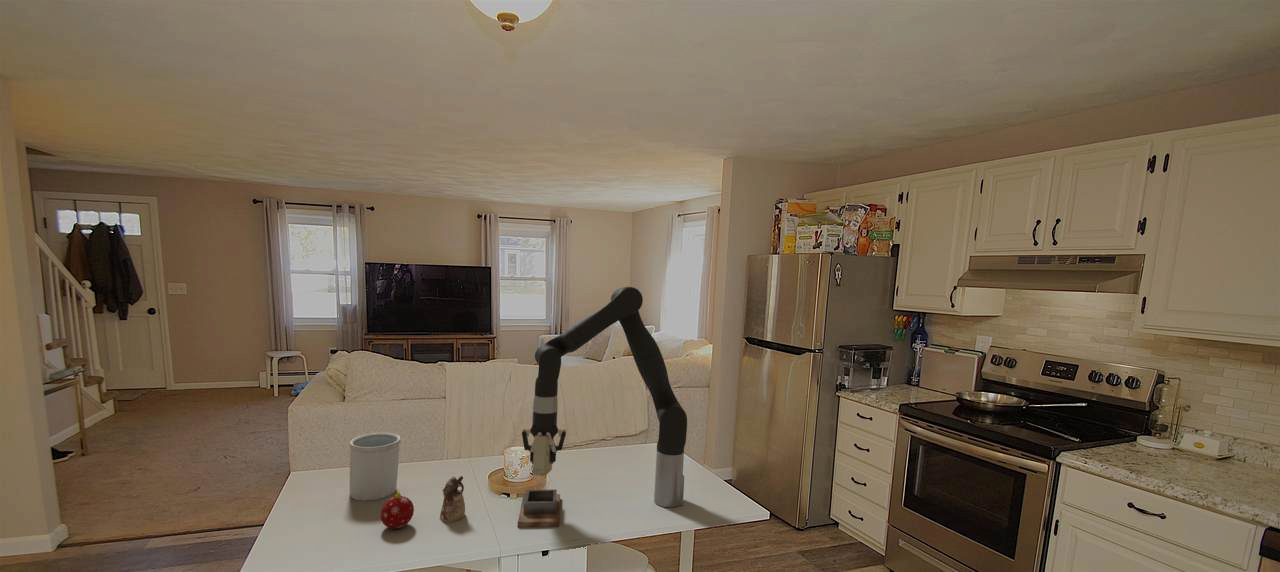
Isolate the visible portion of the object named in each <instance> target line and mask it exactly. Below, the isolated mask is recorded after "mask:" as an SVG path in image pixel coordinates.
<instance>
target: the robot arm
mask: <svg viewBox="0 0 1280 572" xmlns="http://www.w3.org/2000/svg"><path fill="white" fill-rule="evenodd" d="M643 298H644V297H643V294H642V292H641V291H640V290H639V289H638V288H636V287H633V286H625V287H621V288H618V289H616V290H615V291H613V292H612V294H611V297H610V301H609V302H608V303H606V305H604V306H603V307H602V308H600V309H598V310H597V311H595V312H594V313H592V314H590V315H588V316H587V317H585V318H583V319H581V320H579V321H578V322H577V323H575V324H573V325H572V326H570V327H569V328H568V329H566V330H564V332H562V333H561V334H559V335H557V336H555V337H553V338H552V339H549V340H548V341H546V342H544V343H542V344H541V345H540V346H539V347H538V348H537V349H536V351H535V353H534V359H535V362H536V363H537V364H538V370H537V371H538V374H537V377H536V378H535V383H534V386H535V387H534V397H533V406H532V424H531V425H532V426H531V427H530V429H529V428H528V429H525V428H524V429H522V431H521V437H522V443H523V447H524V448H523V449H524V451H529V453H530V454H529V461H530V463H531V464H532V465H533V455H534V440H533V442H532V444H531V445H530V444H529V443H530V442H529V439H528V438H529V437H530V434H531V435H532V436H533V438H534V439H535V435H537V436H541V435H546V436H549V437H550V438H549V444H550V446H551V449H552V454H551V464H552V465H553V464H554V463H556V461H557V460H556V459H557V452H559V451H562V449H563V446H564V443H565V439H566V436H567V431H566V429H560V428H559V429H558V426H557V425H558V408H559V407H558V405H559V402H558V401H559V399H558V390H559V389H558V388H559V387H558V386H559V377H560V374H561V373H560V372H561V367H562V357H564V356H565V355H567V354H569V353H574V352H575V351H577V350H579V349H580V348H582V347H583V346H584V345H586V344H587V343H588V342H590V341H591V340H592V339H594V338H595V337H596V336H598V335H599V334H600V333H602V332H603V331H605V330H606V329H607V328H609V327H610V326H612V325H614V324H615V323H617V322H619V324H620V325H621V327H622V331H623V332H624V335H625V337H626V340H627V343H628V346H629V349H630V351H631V355H632V357H633V360H634V362H635V365H636V367H637V370H638V372H639V374H640V377H641V378H642V380H643V382H644V384H645V386H646V387H647V389H648V391H649V393H650V395H651V398H652V401H653V404H654V405H653V406H654V408H655V412H656V417H657V420H658V422H659V423H658V424H659V425H658V426H659V427H658V430H659V431H658V441H657V443H656V455H655V456H656V458H655V459H656V460H655V475H654V476H655V478H654V495H653V497H654V498H653V500H654V501H653V502H654V503H655V504H656V505H658V506H660V507H663V508H676V506H677V507H679V506H683V505H684V492H685V491H684V490H685V476H684V458H685V446H686V443H687V432H688V416H687V413H686V412H685V410H684V408H683V407H682V406H681V403H679V400H678V399H677V396H676V395H675V393H674V390H673V389H672V386H671V383H670V379H669V374H668V370H667V367H666V366H667V365H666V362H665V360H664V356H663V354H662V352H661V350H660V347H659V345H658V343H657V342H656V340H655V338H654V337H653V336H652V334H651V333H650V331H649V330H648V329H647V327H646V326H645V324H644V322H643V319H642V318H641V315H640V312H639V310H640V309H641V308H642V306H643V302H644V300H643ZM557 434H558V437H559V441H558V445H556V443H555V439H553V438H555V437H556V435H557Z"/></svg>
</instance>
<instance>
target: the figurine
mask: <svg viewBox="0 0 1280 572" xmlns="http://www.w3.org/2000/svg"><path fill="white" fill-rule="evenodd" d="M463 479H464V476H463V475H461V476H459V478H456V477H455V476H451V477H450V478H449V479H447V481H446V483H445V487H444V488H443V489H442V493H443V502H442V505H441V509H440V515H439V520H440V521H442V522H444V521H445V522H444V523H450V522H451V523H452V522H453V521H454V522H456V521H459V520H462V519H463V518H464V517H465V513H466V503H465V498H464V494H463V492H464V490H465V487H464V484H463V482H462V481H463ZM458 488H461V489H460V490H459V489H458Z"/></svg>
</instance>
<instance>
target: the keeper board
mask: <svg viewBox="0 0 1280 572" xmlns="http://www.w3.org/2000/svg"><path fill="white" fill-rule="evenodd" d="M525 495H526V493H525V494H524V493H523V495H522V500H521V505H520V509H519V515H518V520H517V528H543V527H544V528H545V527H549V528H550V527H551V528H552V527H560V513H561V511H560V509H561V508H560V507H561V494H560V493H557V495H556V514H529V515H523V512H524V500H525Z"/></svg>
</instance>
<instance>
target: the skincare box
mask: <svg viewBox="0 0 1280 572" xmlns="http://www.w3.org/2000/svg"><path fill="white" fill-rule="evenodd" d="M549 438H550V437H549V436H546V435H541V436H537V435H535V438H534V439H533V441H534V455H533V464H532V471H531V472H532V476H540V477H546V476H547V475H548V474H549V473H550V472H551V471H552V470H553V464H551V454H552V449H551V446H550V444H549ZM554 438H555V437H554ZM554 438H553V439H554ZM554 440H555V439H554Z"/></svg>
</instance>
